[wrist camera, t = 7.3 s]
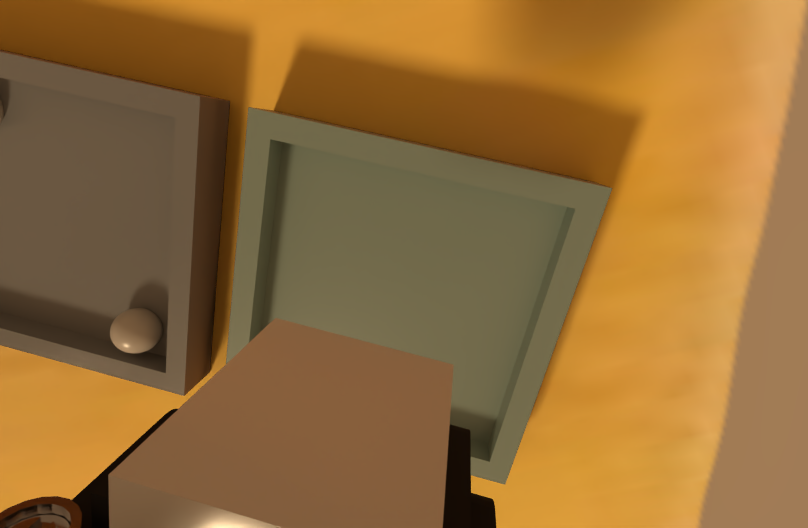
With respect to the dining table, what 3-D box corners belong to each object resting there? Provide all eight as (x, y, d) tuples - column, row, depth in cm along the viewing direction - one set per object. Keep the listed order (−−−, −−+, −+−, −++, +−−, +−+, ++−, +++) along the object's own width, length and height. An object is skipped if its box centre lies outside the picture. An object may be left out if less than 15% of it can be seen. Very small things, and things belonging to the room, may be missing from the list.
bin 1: (209, 372, 23) (177, 401, 20) (-24, 309, 24) (-82, 329, 21) (229, 101, 19) (192, 95, 16) (-56, 37, 20) (-135, 22, 17)
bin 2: (501, 451, 22) (505, 484, 20) (244, 381, 23) (222, 406, 21) (594, 182, 17) (611, 188, 15) (273, 110, 18) (248, 107, 16)
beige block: (409, 522, 11) (366, 795, 7) (255, 477, 12) (112, 707, 7) (453, 365, 10) (438, 575, 5) (275, 317, 10) (108, 475, 5)
